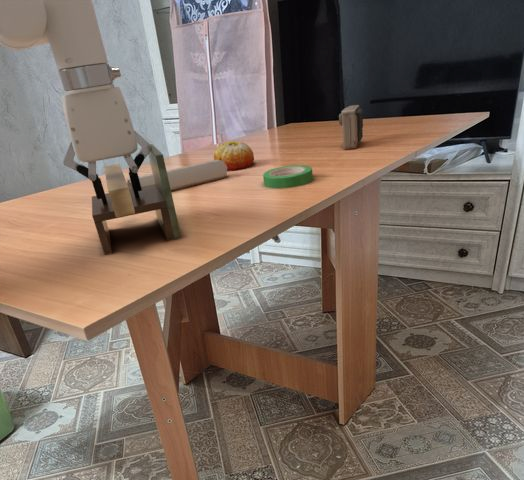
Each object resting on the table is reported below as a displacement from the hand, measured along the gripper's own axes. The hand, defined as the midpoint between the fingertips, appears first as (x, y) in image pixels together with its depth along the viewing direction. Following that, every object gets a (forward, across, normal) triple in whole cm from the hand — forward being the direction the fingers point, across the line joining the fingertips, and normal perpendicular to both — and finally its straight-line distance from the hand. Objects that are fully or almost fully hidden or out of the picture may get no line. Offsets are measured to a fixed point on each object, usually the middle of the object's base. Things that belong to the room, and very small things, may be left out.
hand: (120, 198), depth 82 cm
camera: (+8, -67, -43) cm, 80 cm away
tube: (+8, -15, -32) cm, 36 cm away
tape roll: (+8, -37, -16) cm, 41 cm away
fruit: (+8, -32, -44) cm, 55 cm away
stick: (0, 0, 0) cm, 0 cm away
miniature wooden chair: (+7, -1, 0) cm, 7 cm away
